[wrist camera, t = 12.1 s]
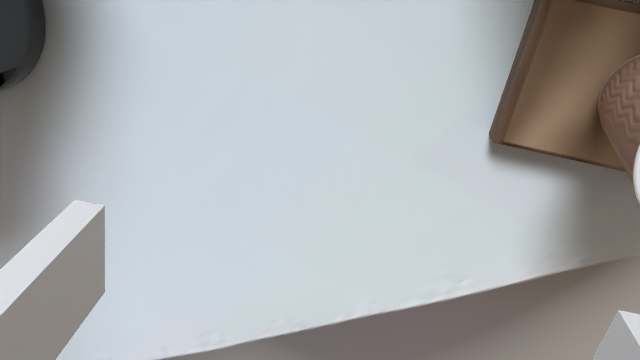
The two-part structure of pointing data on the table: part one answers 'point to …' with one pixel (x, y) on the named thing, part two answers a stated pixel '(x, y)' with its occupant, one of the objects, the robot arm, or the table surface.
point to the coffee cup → (623, 116)
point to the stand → (566, 78)
